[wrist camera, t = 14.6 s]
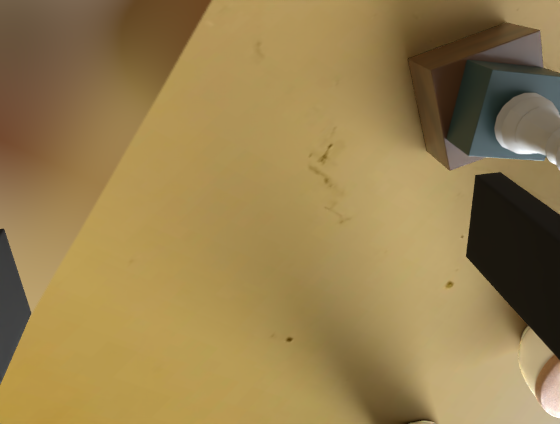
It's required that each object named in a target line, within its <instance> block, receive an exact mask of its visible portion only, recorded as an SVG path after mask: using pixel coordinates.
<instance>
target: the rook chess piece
mask: <svg viewBox="0 0 560 424" xmlns="http://www.w3.org/2000/svg"><path fill="white" fill-rule="evenodd" d="M494 129H495V135H496V139H497V140H498V142H499V143H500V145H501V146H502V147H504V148H506V149H508V150H511V151H513V152H515V153H517V154H532V153H540V154H543V155H546V157H547V158H548V160H549V161H550V162H552V163H554V164H556V165H557V167H558V169H559V170H560V115H559V112H558V110H557V109H556V107H555V105H554V104H553V103H552V102H551V101H550V100H548V99H546V98H545V97H543V96H541V95H539V94H537V93H523V94H521V95H518V96H516V97H513V98H512V99H511V100H510V101H509V102H507V103H506V104H505V105H504V106H503V107H502V109H501V111H500V112H499V114H498V115H497V118H496V123H495V127H494Z"/></svg>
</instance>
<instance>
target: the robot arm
mask: <svg viewBox="0 0 560 424" xmlns="http://www.w3.org/2000/svg"><path fill="white" fill-rule="evenodd" d="M466 257H467V258H468V259H469V260H470V261H471V262H472V264H473V265H474V266H475V267H476V268H477V269H478V270H479V271H480V272H481V274H482V275H483V276H484V277H485V278H486V279H487V280H488V281H489V282H490V283H491V285H492V286H493V287H494V288H495V289H496V290H497V291H498V292H499V293H500V295H501V296H502V297H503V298H504V299H505V300H506V301H507V302H508V303H509V305H510V306H511V307H512V308H513V309H514V310H515V311H516V312H517V313H518V315H519V316H520V317H521V318H522V319H523V320H524V321H525V322H526V323H527V325H528V326H529V327H530V328H531V329H532V330H533V331H534V332H535V333H536V335H537V336H538V337H539V338H540V339H541V340H542V341H543V342H544V343H545V345H546V346H547V347H548V348H549V349H550V350H551V351H552V352H553V353H554V354H555V356H556V357H557V358H558V359H559V360H560V215H559V214H558V213H557V212H555V211H554V210H552V209H551V208H550V207H548V206H547V205H545V204H544V203H543V202H541V201H540V200H538V199H537V198H536V197H534V196H533V195H531V194H530V193H529V192H527V191H526V190H524V189H523V188H522V187H520V186H519V185H517V184H516V183H515V182H513V181H512V180H510V179H509V178H508V177H506V176H505V175H503V174H502V173H501V172H498V173H489V174H481V175H475V184H474V193H473V201H472V210H471V218H470V227H469V236H468V244H467V253H466ZM30 315H31V311H30V308H29V305H28V301H27V298H26V296H25V292H24V289H23V286H22V283H21V280H20V277H19V274H18V270H17V267H16V264H15V261H14V258H13V255H12V252H11V249H10V246H9V243H8V239H7V236H6V233H5V230H4V229H0V384H1V382H2V379H3V377H4V375H5V373H6V370H7V368H8V366H9V363H10V361H11V359H12V356H13V354H14V352H15V350H16V347H17V345H18V343H19V340H20V338H21V336H22V334H23V331H24V329H25V327H26V324H27V322H28V320H29V317H30Z"/></svg>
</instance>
